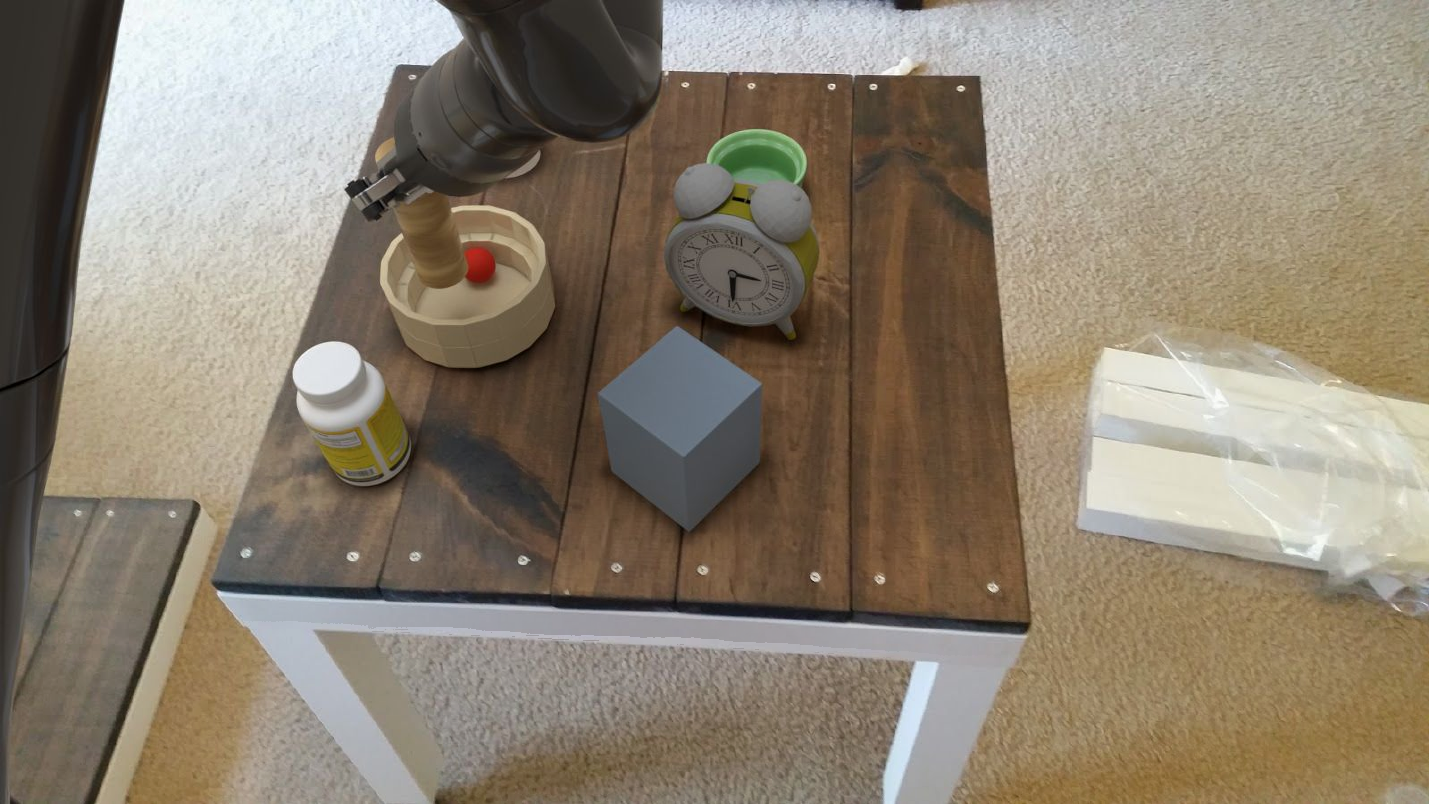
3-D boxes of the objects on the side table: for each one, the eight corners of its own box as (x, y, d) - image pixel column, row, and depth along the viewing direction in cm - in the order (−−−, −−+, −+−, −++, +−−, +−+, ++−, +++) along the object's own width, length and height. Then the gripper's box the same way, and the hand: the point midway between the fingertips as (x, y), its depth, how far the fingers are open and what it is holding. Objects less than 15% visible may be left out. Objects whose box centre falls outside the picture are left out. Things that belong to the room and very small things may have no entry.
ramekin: (758, 152, 101) (759, 115, 97) (825, 200, 96) (828, 163, 93) (687, 195, 97) (685, 158, 94) (753, 247, 93) (753, 211, 90)
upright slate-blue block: (689, 532, 76) (683, 457, 68) (611, 471, 79) (597, 393, 71) (760, 462, 80) (762, 383, 72) (682, 407, 83) (676, 324, 75)
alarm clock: (665, 320, 88) (654, 186, 76) (694, 264, 92) (687, 127, 80) (798, 356, 86) (808, 222, 74) (821, 297, 90) (835, 160, 77)
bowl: (470, 400, 84) (453, 352, 79) (367, 317, 89) (346, 268, 84) (588, 305, 89) (580, 256, 85) (484, 232, 95) (471, 182, 90)
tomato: (479, 295, 89) (472, 271, 87) (456, 278, 91) (448, 254, 88) (505, 275, 91) (499, 251, 88) (482, 259, 92) (476, 234, 90)
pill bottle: (389, 409, 83) (347, 317, 74) (427, 459, 80) (388, 371, 71) (317, 450, 81) (265, 361, 72) (354, 503, 78) (304, 418, 69)
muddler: (439, 297, 81) (399, 179, 72) (407, 272, 83) (363, 154, 73) (479, 268, 83) (444, 149, 73) (446, 244, 85) (408, 125, 75)
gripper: (525, 9, 65) (443, 92, 79) (337, 124, 59) (286, 191, 73) (595, 114, 67) (503, 176, 82) (420, 236, 61) (355, 279, 75)
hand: (400, 183), depth 77 cm, fingers closed on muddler, 4 cm apart
